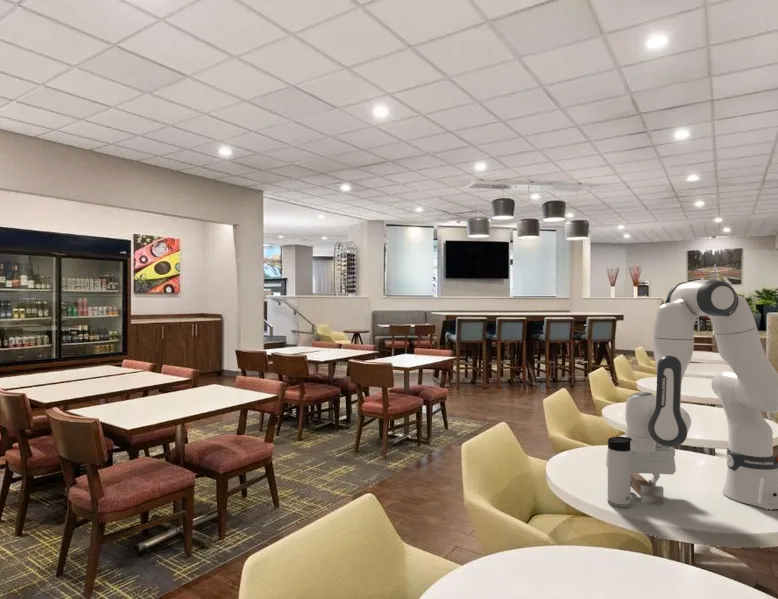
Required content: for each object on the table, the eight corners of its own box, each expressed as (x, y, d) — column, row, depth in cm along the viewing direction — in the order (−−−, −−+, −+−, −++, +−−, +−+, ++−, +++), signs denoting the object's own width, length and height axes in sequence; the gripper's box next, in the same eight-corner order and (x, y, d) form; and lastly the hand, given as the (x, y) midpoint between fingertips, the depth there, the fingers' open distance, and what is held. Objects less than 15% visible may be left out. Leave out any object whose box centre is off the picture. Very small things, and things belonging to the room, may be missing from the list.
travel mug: (634, 509, 143) (634, 441, 143) (610, 507, 145) (610, 439, 145) (628, 500, 149) (628, 435, 149) (605, 498, 151) (605, 434, 151)
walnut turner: (639, 481, 165) (639, 466, 165) (663, 504, 147) (663, 487, 147) (620, 480, 166) (620, 466, 166) (642, 503, 147) (642, 486, 147)
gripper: (670, 441, 158) (670, 483, 158) (604, 439, 161) (604, 481, 161) (679, 447, 152) (679, 491, 152) (610, 444, 155) (610, 488, 155)
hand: (640, 486), depth 156 cm, fingers open, 6 cm apart
